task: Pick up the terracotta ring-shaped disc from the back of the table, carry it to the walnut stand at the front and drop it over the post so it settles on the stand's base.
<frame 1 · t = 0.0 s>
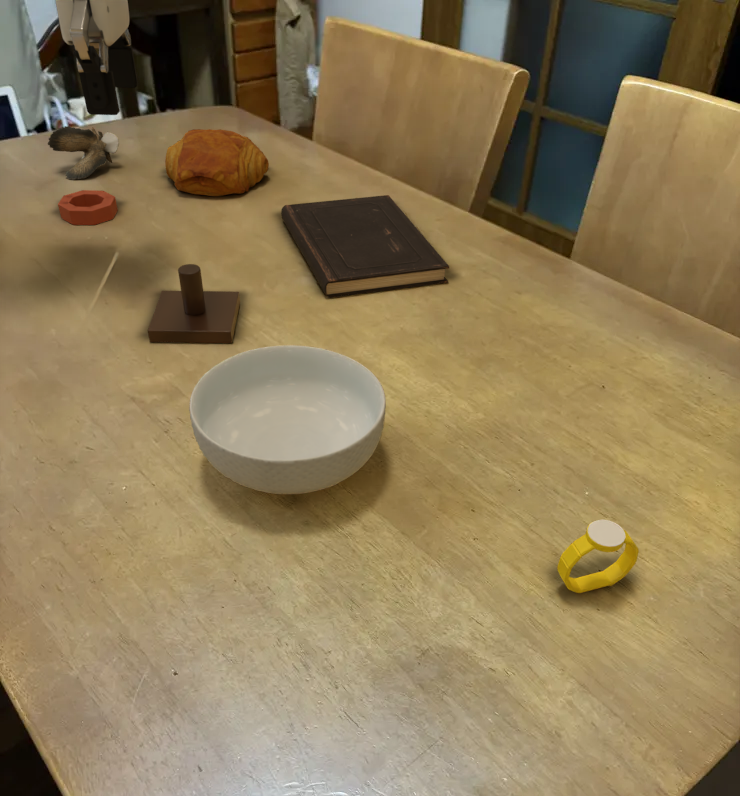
hand: (114, 99, 82), 20 cm above the table, tool pointing down, fingers open, 9 cm apart
hardcover book: (359, 251, 101), on the table
cereal bowl: (292, 460, 69), on the table
watch: (589, 586, 59), on the table
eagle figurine: (90, 170, 119), on the table
stand: (196, 321, 86), on the table
croissant: (215, 182, 117), on the table
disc: (89, 214, 106), on the table
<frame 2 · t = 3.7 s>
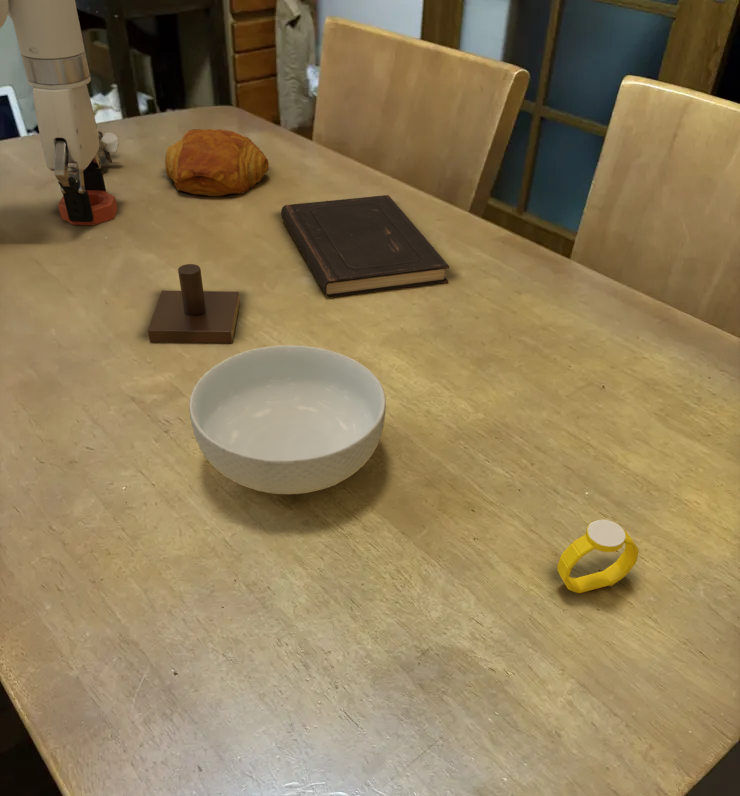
hand: (88, 208, 106), 1 cm above the table, tool pointing down, fingers closed on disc, 7 cm apart
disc: (89, 214, 106), on the table, touching gripper
everything else where it was.
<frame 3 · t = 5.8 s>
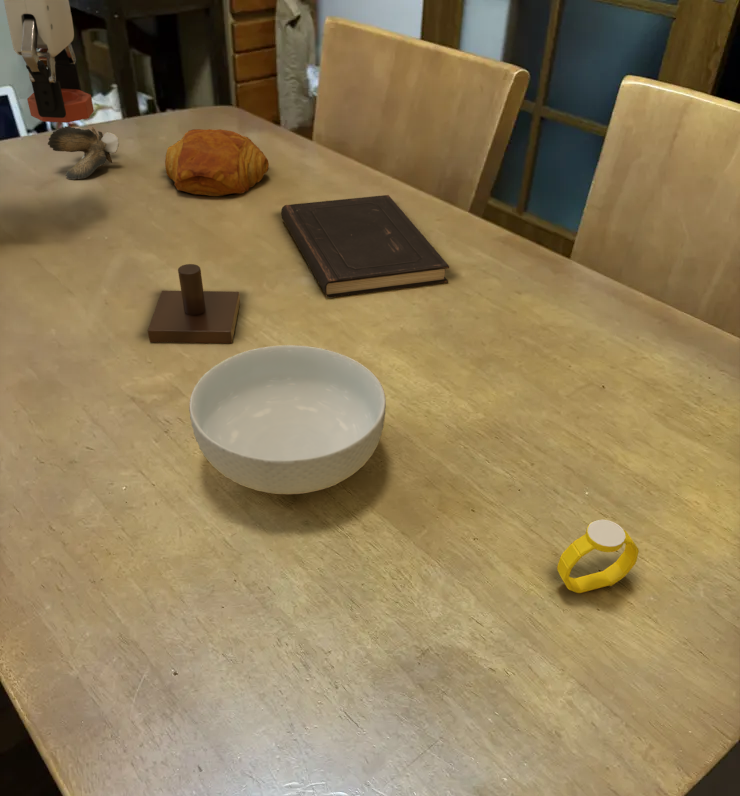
hand: (61, 106, 96), 14 cm above the table, tool pointing down, fingers closed on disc, 7 cm apart
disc: (62, 113, 97), point 13 cm above the table, touching gripper
everything else where it was.
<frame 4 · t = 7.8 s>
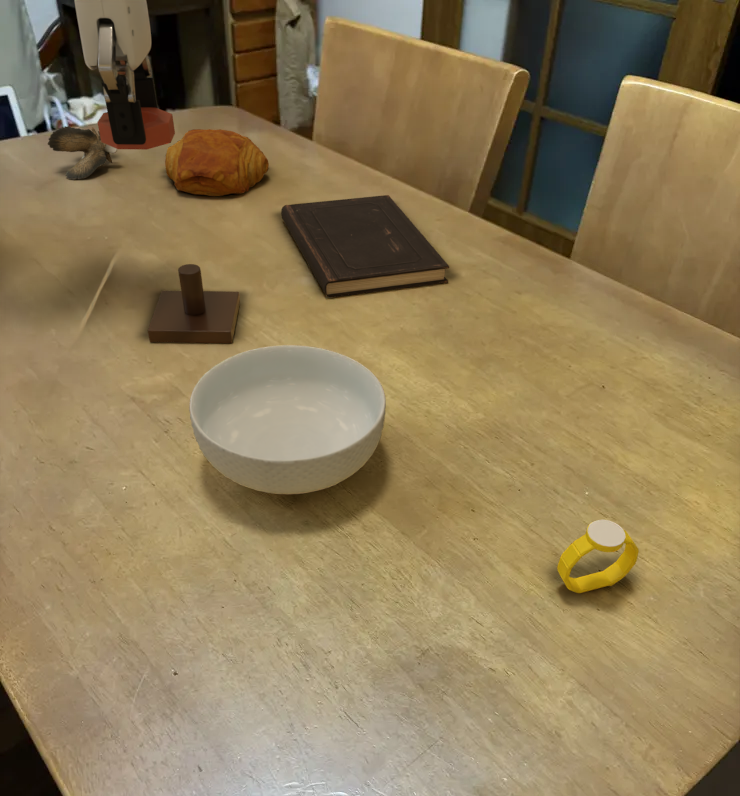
hand: (137, 129, 79), 18 cm above the table, tool pointing down, fingers closed on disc, 7 cm apart
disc: (138, 137, 80), point 17 cm above the table, touching gripper
everything else where it was.
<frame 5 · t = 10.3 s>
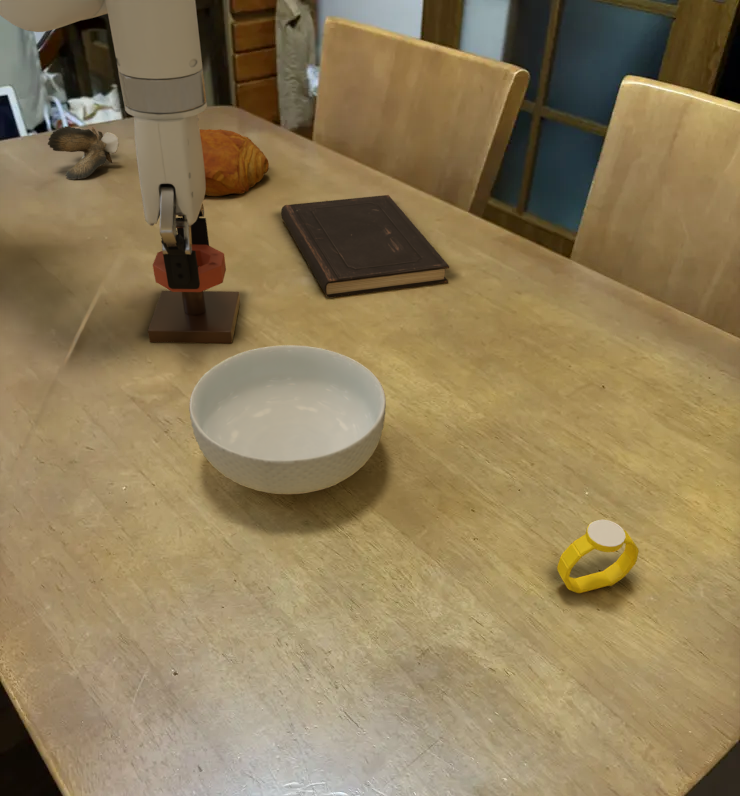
hand: (190, 268, 81), 7 cm above the table, tool pointing down, fingers closed on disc, 7 cm apart
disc: (191, 276, 82), point 6 cm above the table, touching gripper
everything else where it was.
when the fingers open (2 cm above the table, at t = 12.2 s): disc stays where it is, resting on stand.
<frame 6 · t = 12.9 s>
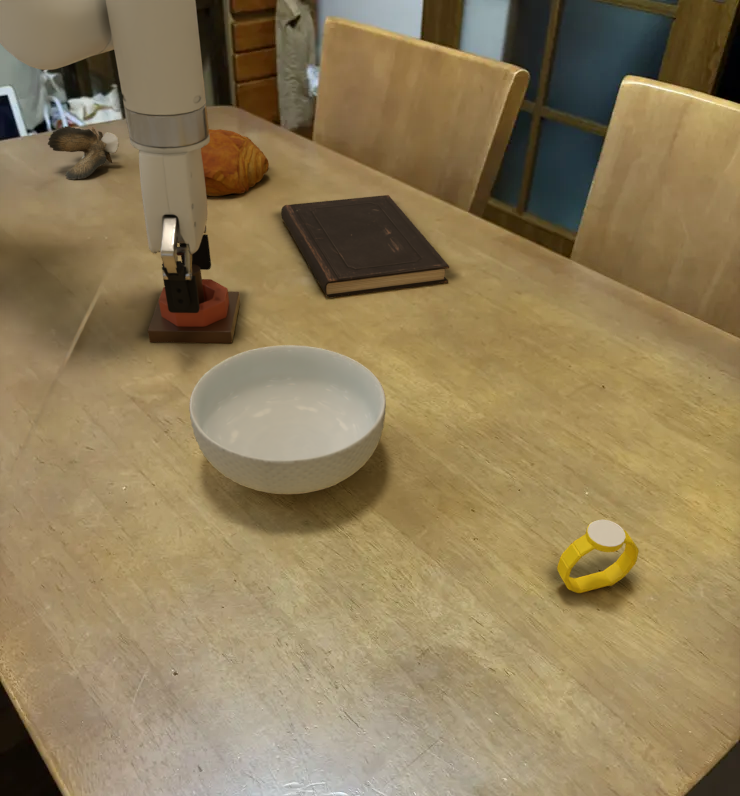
hand: (191, 289, 83), 4 cm above the table, tool pointing down, fingers open, 9 cm apart
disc: (195, 310, 85), point 1 cm above the table, touching stand
everything else where it was.
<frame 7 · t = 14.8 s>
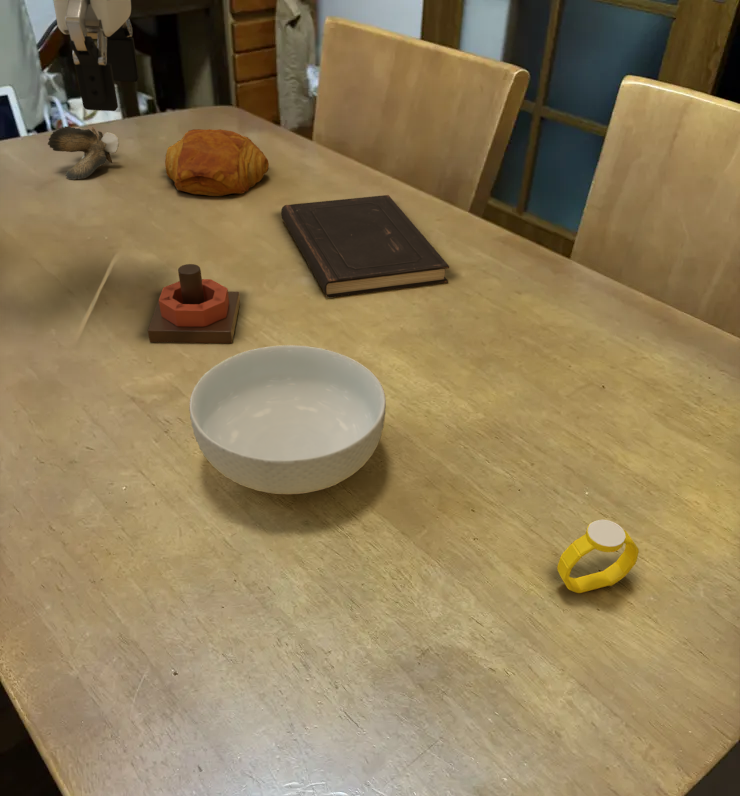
hand: (113, 94, 76), 22 cm above the table, tool pointing down, fingers open, 9 cm apart
nothing on the table moved.
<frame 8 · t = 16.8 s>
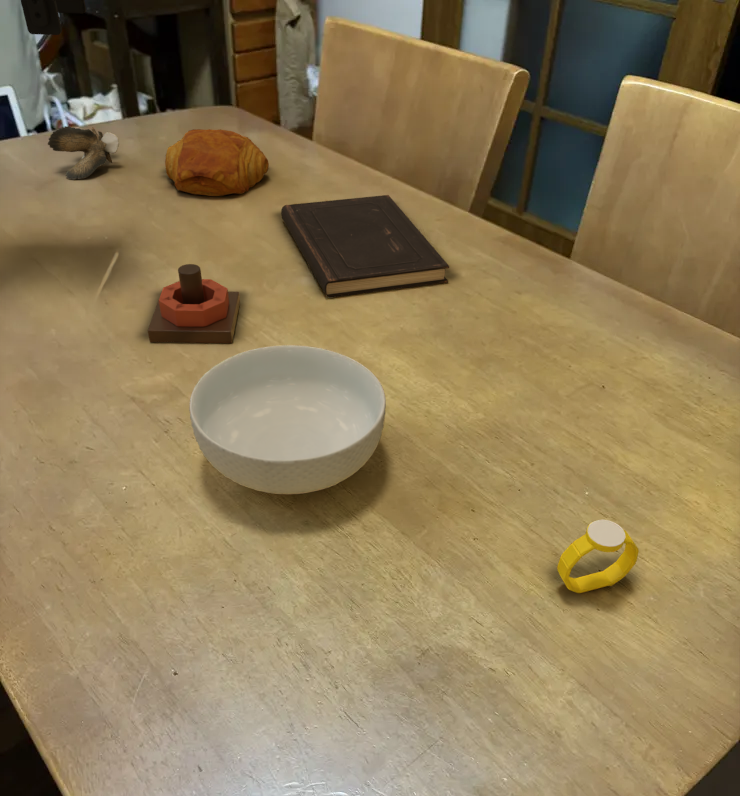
hand: (59, 22, 78), 26 cm above the table, tool pointing down, fingers open, 9 cm apart
nothing on the table moved.
at the end: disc 0.1 cm off-centre on the stand, point 1.5 cm above the stand's base; the gripper is holding nothing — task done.
